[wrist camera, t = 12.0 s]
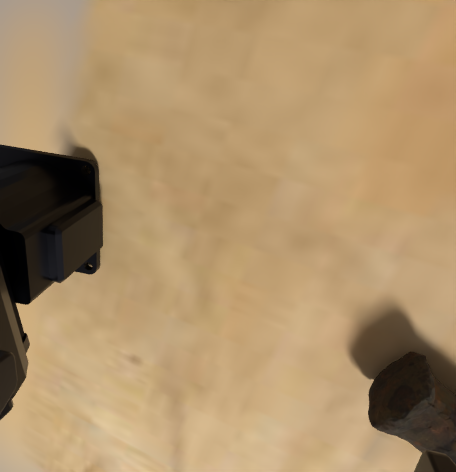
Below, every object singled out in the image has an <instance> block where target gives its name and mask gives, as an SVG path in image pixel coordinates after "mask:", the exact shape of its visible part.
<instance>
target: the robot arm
mask: <svg viewBox="0 0 456 472" xmlns="http://www.w3.org/2000/svg"><path fill="white" fill-rule="evenodd" d="M85 166H87V167H89V169H90V171H91V172H90V174H89V173H87V172H86V170H85ZM102 246H103V215H102V204H101V202H100V201H99V169H98V166H97V164H96V163H95V162H94V161H92V160H90V159H84V158H78V157H72V156H66V155H60V154H54V153H48V152H42V151H36V150H30V149H24V148H17V147H11V146H5V145H0V420H1V419H2V418H3V417H4V416H5V415H6V414H7V413H8V412H9V411H10V410H11V409H12V407H13V401H12V398H13V397H14V396H15V395H16V393H17V391H18V390H19V388H20V386H21V385H22V383H23V382H24V380H25V378H26V374H27V367H28V359H27V356H26V352H27V350H28V348H29V346H30V343H29V339H28V336H27V334H26V333H24V331H23V327H22V324H21V320H20V317H19V313H18V310H17V307H16V303H20V304H25V305H26V304H29V303H31V302H32V301H33V300H34V299H35V298H36V297H38V296H39V295H40V294H41V293H42V292H43V291H44V290H46V289H47V288H48V287H49V286H50V285H51V284H53V283H54V282H58V283H61V282H63V281H64V280H65V279H66V278H67V277H69V276H70V275H71V274H72V273H73V272H74V271H76V272H81V273H86V274H93V273H95V272H96V271H97V270H98V269H99V268H100V248H101V247H102ZM88 262H89V263H91V264H92V266H93V267H90V266H89V265H88ZM414 472H456V464H455V463H454V462H453V461H452V460H451V458H450V457H449V456H447V455H446V454H443V453H439V452H435V451H431V450H425V451H424V452H423V453H422V455H421V457H420V459H419V462H418V464H417V466H416V468H415V471H414Z"/></svg>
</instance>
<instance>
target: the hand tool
mask: <svg viewBox="0 0 456 472" xmlns="http://www.w3.org/2000/svg"><path fill="white" fill-rule="evenodd" d="M368 415H369V420H370V422H371V425H372V426H373V427H374V428H376V429H377V430H379V431H382V432H385V433H387V434H390V435H395V436H398V437H399V438H401V439H404V440H406V441H408V442H409V443H411V444H412V445H413V446H414V447H415V448H417V449H418V450H419V451H421V452H422V453H423V452H424V451H425V450H431V451H435V452H439V453H443V454H446V455H447V456H449V457H450V458H451V460H452V461H453V462H454V463H455V464H456V395H454V394H453V393H452V392H451V391H450V390H448V389H447V388H446V387H444V386H443V385H442V384H441V383H440V382H439V381H438V380H437V379H436V378H434V377H433V375H432V372H431V370H430V367H429V365H428V363H427V362H426V356H424V355H421V354H417V353H413V352H410V353H408V354H406V355H405V356H404V357H403V358H401V359H399V360H398V361H396V362H394V363H392V364H390V365H389V366H388V367H387V368H386V369H384V370H383V371H382V372H381V373H380V374H379V376H378V377H377V378H376V379H375V380H374V382H373V383H372V385H371V387H370V390H369V410H368Z"/></svg>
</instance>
